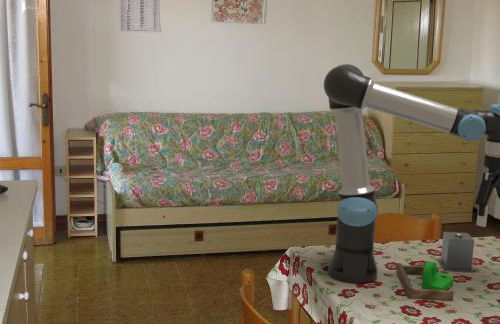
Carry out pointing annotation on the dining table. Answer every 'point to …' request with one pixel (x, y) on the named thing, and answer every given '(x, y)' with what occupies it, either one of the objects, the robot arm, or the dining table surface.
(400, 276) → the bay
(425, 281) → the mechanical part
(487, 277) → the dining table surface
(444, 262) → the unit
